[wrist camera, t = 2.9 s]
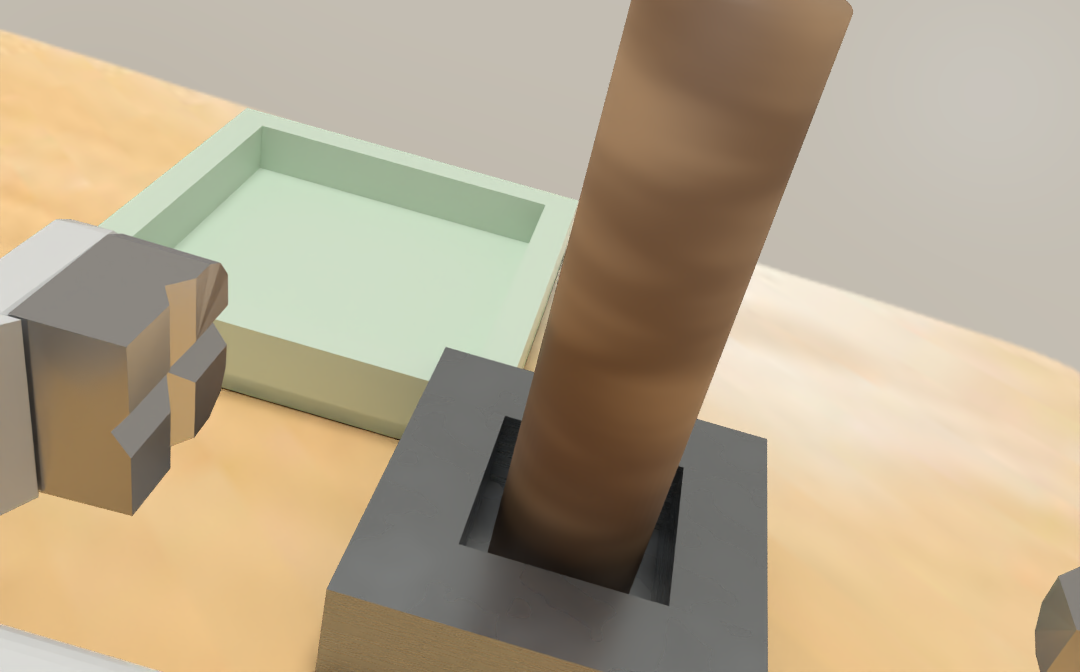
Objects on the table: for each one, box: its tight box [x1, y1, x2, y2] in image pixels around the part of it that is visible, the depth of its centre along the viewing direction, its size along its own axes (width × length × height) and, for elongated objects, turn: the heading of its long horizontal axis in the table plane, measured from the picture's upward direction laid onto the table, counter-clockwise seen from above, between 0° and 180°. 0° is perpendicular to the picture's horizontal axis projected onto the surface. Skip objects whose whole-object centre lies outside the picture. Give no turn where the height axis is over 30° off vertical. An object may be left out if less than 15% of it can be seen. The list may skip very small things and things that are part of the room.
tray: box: [98, 108, 579, 439], centre depth 37 cm, size 14×14×2 cm
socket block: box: [315, 347, 768, 672], centre depth 27 cm, size 10×10×3 cm
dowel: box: [488, 0, 853, 594], centre depth 23 cm, size 4×4×16 cm
